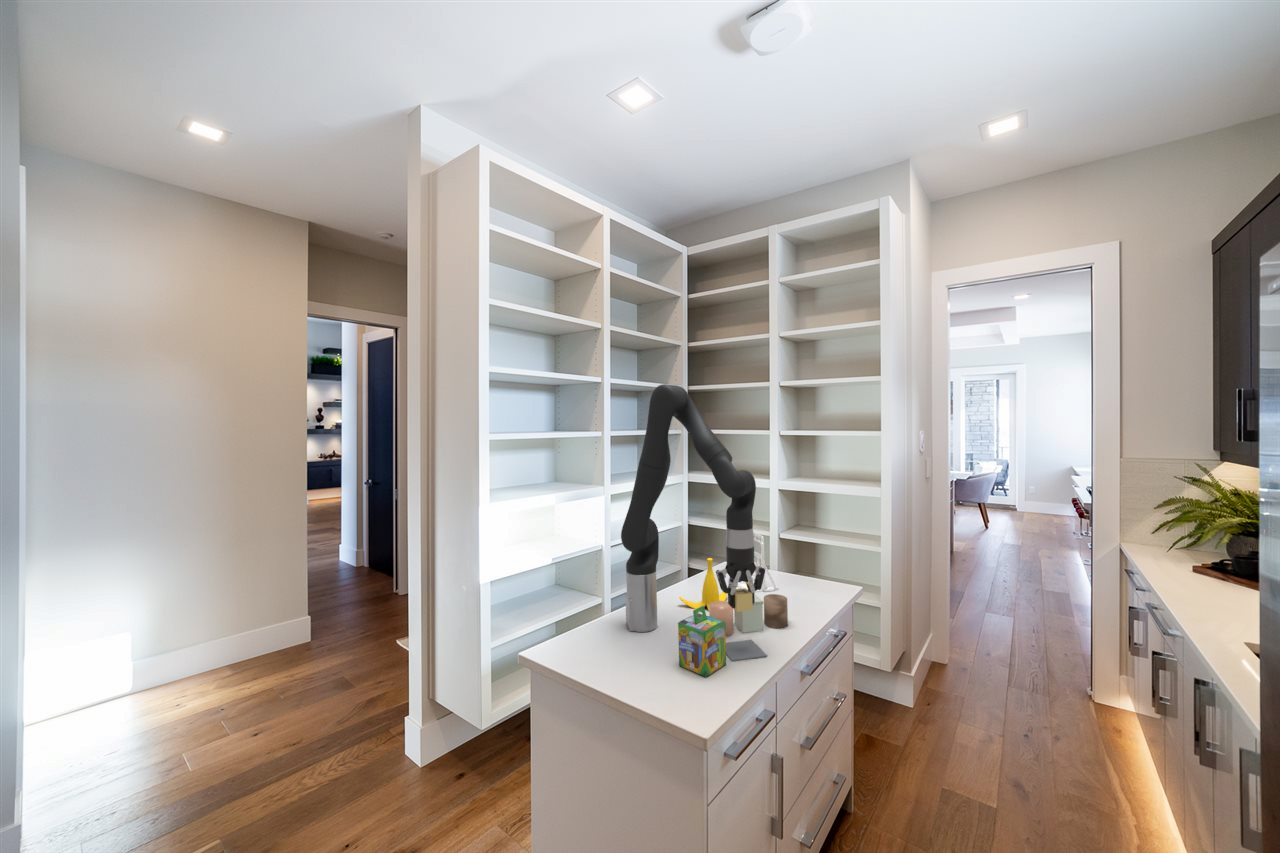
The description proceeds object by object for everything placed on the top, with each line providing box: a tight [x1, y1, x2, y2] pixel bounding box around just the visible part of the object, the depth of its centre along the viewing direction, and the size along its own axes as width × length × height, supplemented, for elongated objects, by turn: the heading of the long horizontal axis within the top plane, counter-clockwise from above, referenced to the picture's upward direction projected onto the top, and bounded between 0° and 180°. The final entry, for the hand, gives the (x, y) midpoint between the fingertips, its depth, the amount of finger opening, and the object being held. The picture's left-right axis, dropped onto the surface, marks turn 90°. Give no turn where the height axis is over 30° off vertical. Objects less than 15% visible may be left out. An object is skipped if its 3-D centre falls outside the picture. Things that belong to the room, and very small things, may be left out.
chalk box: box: [677, 606, 727, 678], centre depth 133 cm, size 9×9×15 cm
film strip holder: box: [737, 531, 780, 593], centre depth 193 cm, size 14×14×20 cm
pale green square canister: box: [733, 593, 764, 633], centre depth 156 cm, size 7×7×9 cm
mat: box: [726, 639, 768, 662], centre depth 141 cm, size 10×10×1 cm
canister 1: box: [708, 601, 735, 638], centre depth 153 cm, size 7×7×8 cm
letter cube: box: [733, 588, 753, 612], centre depth 141 cm, size 4×4×5 cm
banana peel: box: [678, 557, 728, 612], centre depth 171 cm, size 17×19×17 cm
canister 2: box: [763, 593, 789, 630], centre depth 158 cm, size 7×7×8 cm
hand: (741, 606), depth 141 cm, fingers closed on letter cube, 4 cm apart
